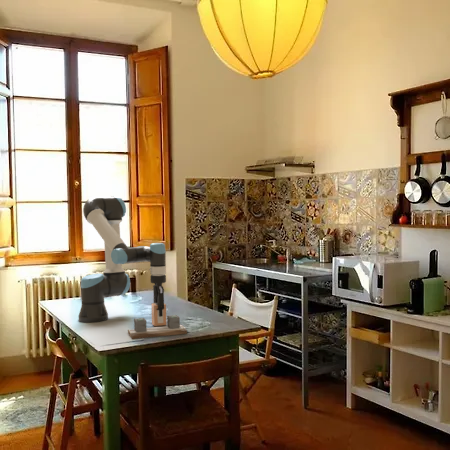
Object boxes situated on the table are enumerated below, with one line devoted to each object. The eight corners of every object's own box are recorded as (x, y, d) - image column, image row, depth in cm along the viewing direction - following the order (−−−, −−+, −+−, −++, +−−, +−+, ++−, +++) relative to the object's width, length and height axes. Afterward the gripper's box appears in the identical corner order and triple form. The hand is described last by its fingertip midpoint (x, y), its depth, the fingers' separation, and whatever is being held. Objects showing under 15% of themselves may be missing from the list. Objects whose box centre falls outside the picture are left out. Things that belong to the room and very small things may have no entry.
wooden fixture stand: (127, 333, 246) (127, 317, 246) (180, 328, 254) (179, 312, 254) (132, 339, 234) (131, 322, 234) (186, 333, 243) (186, 317, 242)
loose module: (151, 323, 263) (151, 302, 262) (163, 322, 265) (163, 301, 264) (154, 326, 257) (153, 305, 257) (166, 325, 259) (166, 304, 259)
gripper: (146, 272, 268) (147, 318, 269) (154, 277, 250) (155, 326, 251) (161, 271, 270) (162, 316, 271) (170, 276, 252) (170, 324, 253)
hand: (159, 321), depth 261 cm, fingers closed on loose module, 6 cm apart
